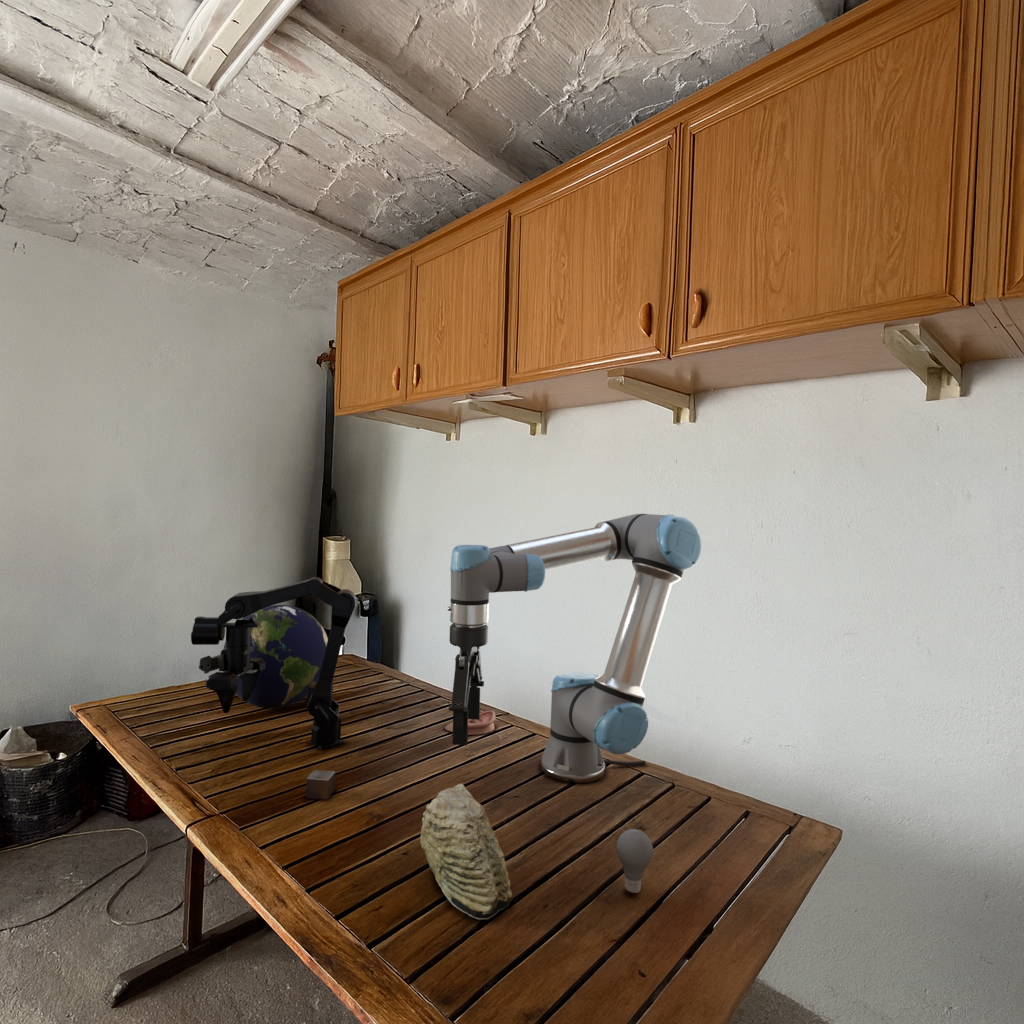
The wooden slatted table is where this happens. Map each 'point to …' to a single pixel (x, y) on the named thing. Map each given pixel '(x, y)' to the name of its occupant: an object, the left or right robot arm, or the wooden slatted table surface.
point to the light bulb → (634, 857)
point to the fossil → (465, 854)
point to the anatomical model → (478, 724)
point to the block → (320, 784)
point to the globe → (285, 655)
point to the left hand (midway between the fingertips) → (235, 706)
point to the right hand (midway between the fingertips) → (466, 731)
